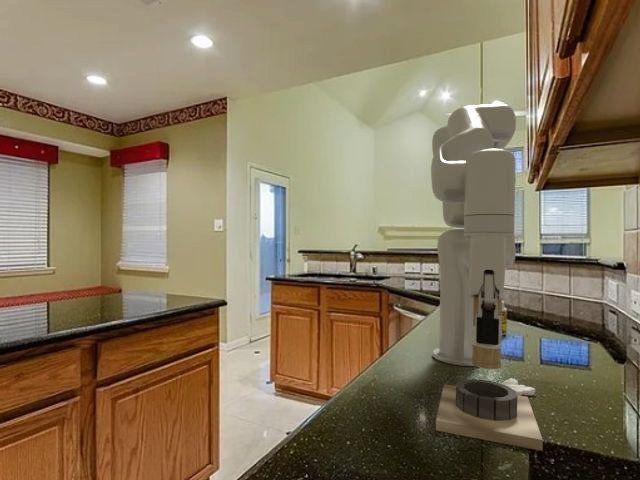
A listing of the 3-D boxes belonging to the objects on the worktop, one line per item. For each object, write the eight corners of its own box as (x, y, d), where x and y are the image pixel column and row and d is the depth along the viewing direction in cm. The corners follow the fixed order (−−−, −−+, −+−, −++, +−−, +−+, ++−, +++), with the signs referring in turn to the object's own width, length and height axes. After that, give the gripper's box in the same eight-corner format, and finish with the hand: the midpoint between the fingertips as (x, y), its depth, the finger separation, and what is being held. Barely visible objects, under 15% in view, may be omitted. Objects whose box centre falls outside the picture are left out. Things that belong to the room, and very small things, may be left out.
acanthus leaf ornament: (513, 385, 79) (513, 375, 79) (540, 398, 72) (540, 388, 72) (481, 387, 77) (482, 378, 77) (506, 401, 70) (507, 391, 70)
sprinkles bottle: (477, 360, 66) (478, 281, 66) (505, 366, 62) (507, 283, 63) (466, 365, 62) (468, 282, 62) (496, 372, 59) (497, 284, 59)
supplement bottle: (496, 336, 118) (497, 302, 118) (483, 331, 124) (483, 300, 124) (510, 334, 120) (511, 302, 120) (497, 330, 125) (497, 299, 126)
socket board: (443, 392, 73) (444, 368, 73) (527, 405, 67) (527, 379, 67) (435, 430, 58) (436, 400, 58) (542, 451, 52) (543, 417, 53)
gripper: (465, 229, 72) (463, 327, 72) (462, 224, 56) (460, 350, 56) (509, 230, 69) (508, 332, 69) (520, 224, 53) (518, 356, 53)
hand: (486, 338), depth 62 cm, fingers closed on sprinkles bottle, 4 cm apart
